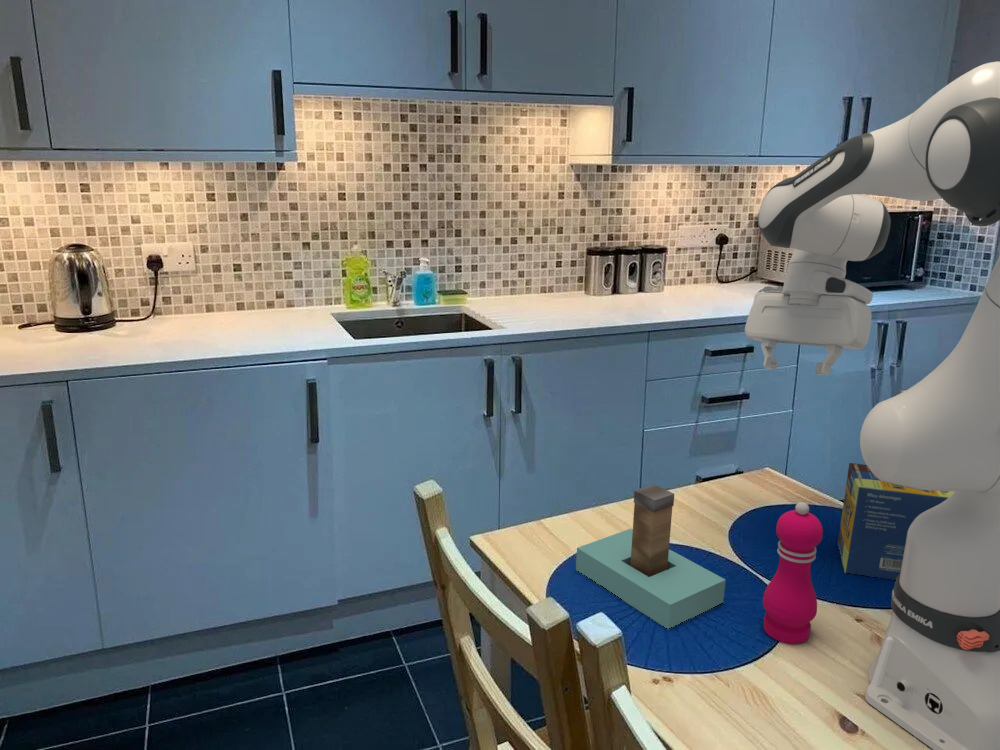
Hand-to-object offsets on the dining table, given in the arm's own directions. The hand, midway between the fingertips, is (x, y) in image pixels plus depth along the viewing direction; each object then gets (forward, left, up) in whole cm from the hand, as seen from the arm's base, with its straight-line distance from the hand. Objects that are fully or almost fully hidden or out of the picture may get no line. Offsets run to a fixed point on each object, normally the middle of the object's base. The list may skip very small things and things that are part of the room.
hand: (794, 371), depth 128 cm
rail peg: (-5, +26, -32) cm, 41 cm away
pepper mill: (-21, +12, -32) cm, 40 cm away
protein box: (-9, -16, -32) cm, 37 cm away
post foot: (-5, +26, -32) cm, 41 cm away
